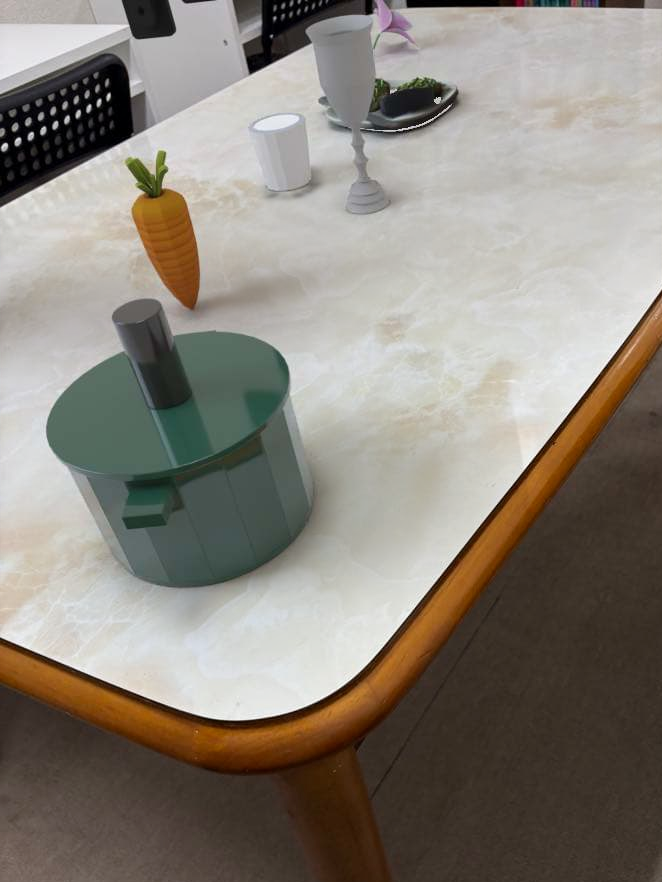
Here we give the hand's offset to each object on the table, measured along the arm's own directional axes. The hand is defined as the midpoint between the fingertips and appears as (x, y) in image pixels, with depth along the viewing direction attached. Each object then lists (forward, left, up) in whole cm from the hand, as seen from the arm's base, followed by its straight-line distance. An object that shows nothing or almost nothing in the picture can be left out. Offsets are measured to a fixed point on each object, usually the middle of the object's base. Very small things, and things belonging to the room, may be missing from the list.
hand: (180, 17), depth 64 cm
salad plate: (+13, +53, -25) cm, 60 cm away
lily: (+13, +84, -25) cm, 89 cm away
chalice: (+10, +23, -25) cm, 36 cm away
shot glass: (0, +33, -25) cm, 42 cm away
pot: (0, -28, -25) cm, 37 cm away
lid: (0, -28, -16) cm, 32 cm away
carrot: (-7, +3, -25) cm, 26 cm away
